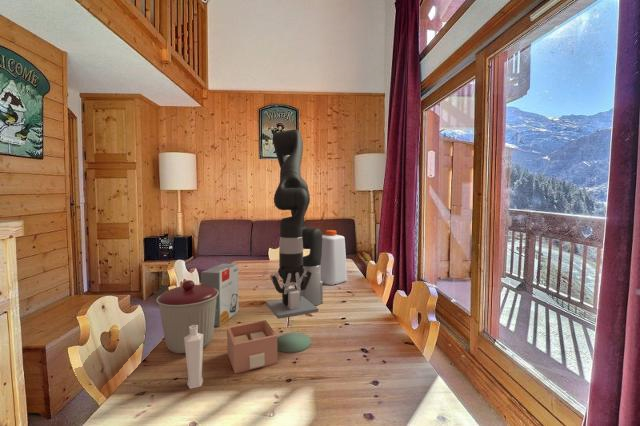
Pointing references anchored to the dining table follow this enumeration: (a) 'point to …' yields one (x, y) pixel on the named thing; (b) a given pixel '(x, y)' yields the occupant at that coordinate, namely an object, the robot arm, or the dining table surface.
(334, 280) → the plastic bottle
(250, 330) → the crate
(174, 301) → the canister
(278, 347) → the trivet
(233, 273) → the hard drive box
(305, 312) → the lid
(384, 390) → the dining table surface
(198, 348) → the perfume bottle
